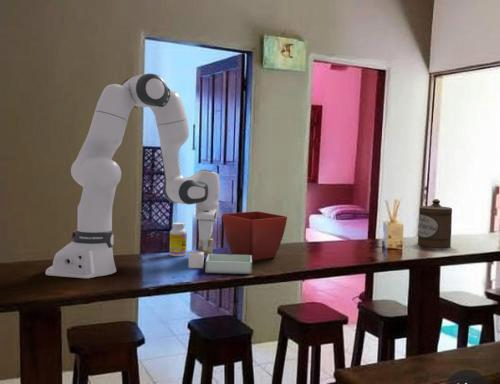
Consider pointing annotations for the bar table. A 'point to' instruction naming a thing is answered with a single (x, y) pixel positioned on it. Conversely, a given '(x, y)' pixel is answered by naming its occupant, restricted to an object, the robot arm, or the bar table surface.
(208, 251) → the beech block
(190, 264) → the white cube
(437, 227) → the wooden container
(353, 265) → the bar table surface
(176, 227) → the supplement bottle
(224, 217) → the plant pot
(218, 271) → the tray
